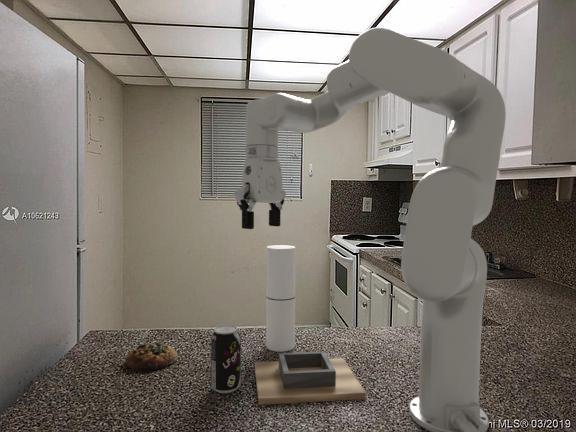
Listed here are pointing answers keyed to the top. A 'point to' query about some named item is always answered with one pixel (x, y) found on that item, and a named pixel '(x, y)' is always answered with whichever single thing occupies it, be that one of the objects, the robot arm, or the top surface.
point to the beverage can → (225, 359)
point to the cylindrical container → (280, 298)
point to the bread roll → (151, 357)
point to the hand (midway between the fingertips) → (261, 227)
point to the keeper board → (305, 379)
